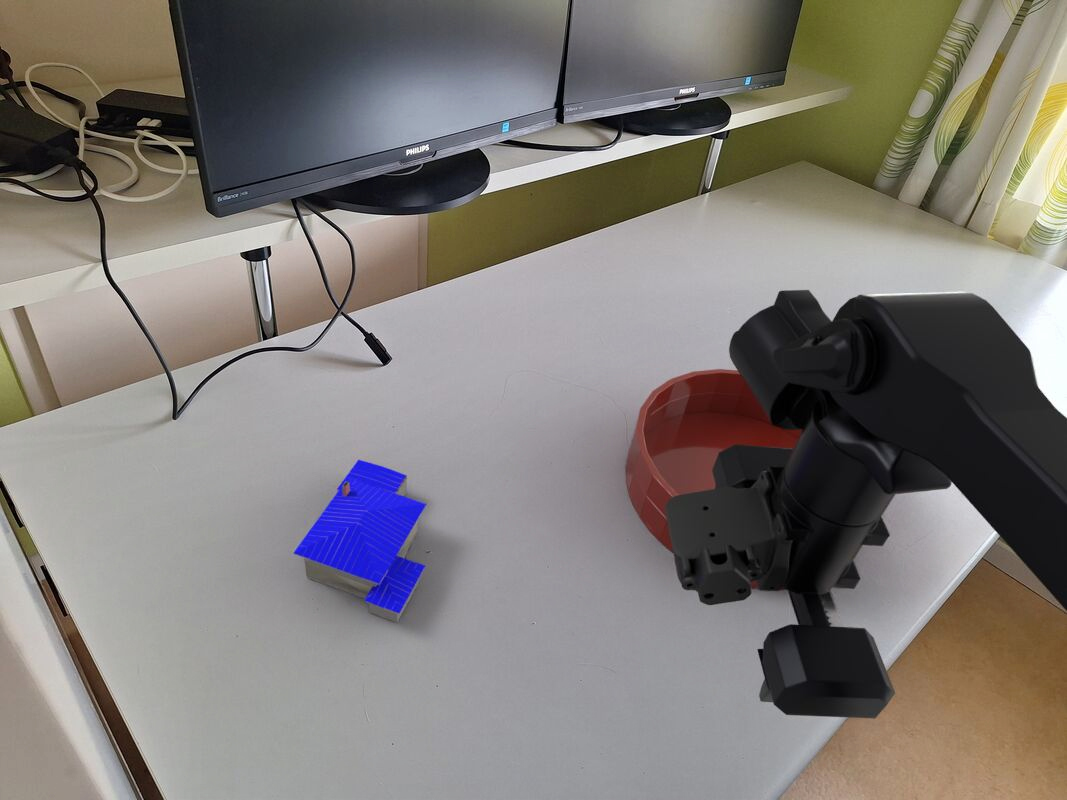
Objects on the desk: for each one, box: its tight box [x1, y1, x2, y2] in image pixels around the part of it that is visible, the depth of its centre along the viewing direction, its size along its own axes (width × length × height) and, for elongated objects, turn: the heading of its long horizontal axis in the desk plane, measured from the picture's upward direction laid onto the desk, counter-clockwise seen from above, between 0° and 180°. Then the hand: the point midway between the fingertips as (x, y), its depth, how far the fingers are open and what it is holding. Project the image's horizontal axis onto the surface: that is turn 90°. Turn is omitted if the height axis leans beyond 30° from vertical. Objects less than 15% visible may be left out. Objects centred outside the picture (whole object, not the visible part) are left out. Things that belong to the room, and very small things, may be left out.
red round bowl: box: [624, 368, 802, 591], centre depth 80 cm, size 25×25×6 cm
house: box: [293, 459, 427, 623], centre depth 69 cm, size 11×14×6 cm
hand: (750, 636), depth 53 cm, fingers open, 9 cm apart
